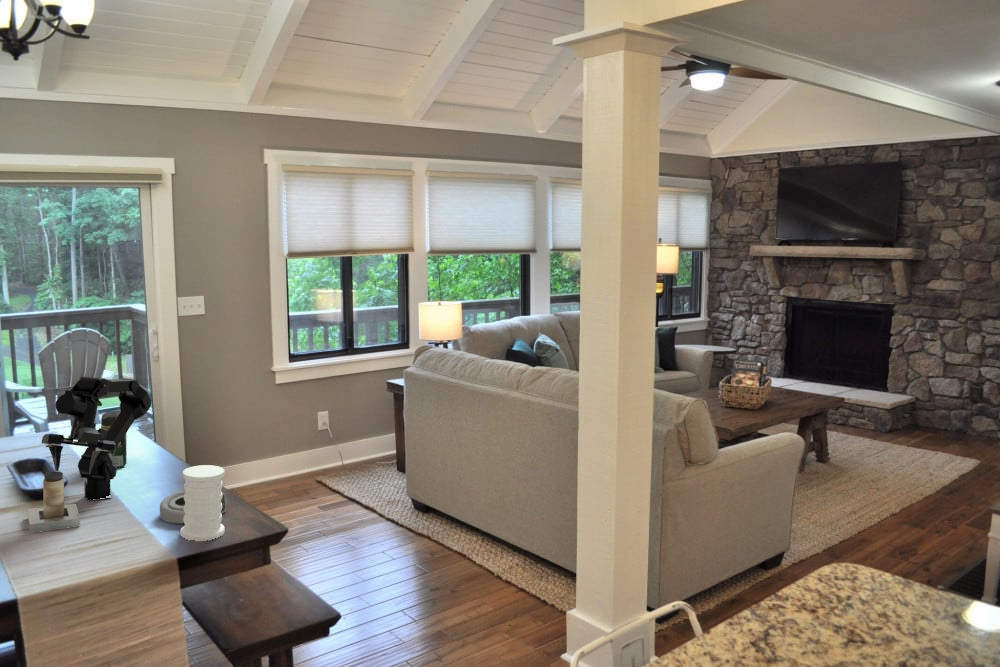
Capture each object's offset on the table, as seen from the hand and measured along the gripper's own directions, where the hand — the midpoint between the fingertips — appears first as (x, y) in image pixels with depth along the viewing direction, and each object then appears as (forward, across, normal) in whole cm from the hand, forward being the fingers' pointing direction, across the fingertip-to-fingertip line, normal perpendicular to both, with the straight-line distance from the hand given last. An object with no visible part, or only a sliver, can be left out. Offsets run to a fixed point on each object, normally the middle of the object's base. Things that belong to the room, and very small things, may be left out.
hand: (73, 472), depth 230 cm
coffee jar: (-5, +26, +37) cm, 45 cm away
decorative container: (+14, +25, -32) cm, 44 cm away
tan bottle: (+14, -3, -2) cm, 15 cm away
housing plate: (+14, -3, -2) cm, 15 cm away
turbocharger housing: (+10, +28, -18) cm, 35 cm away
